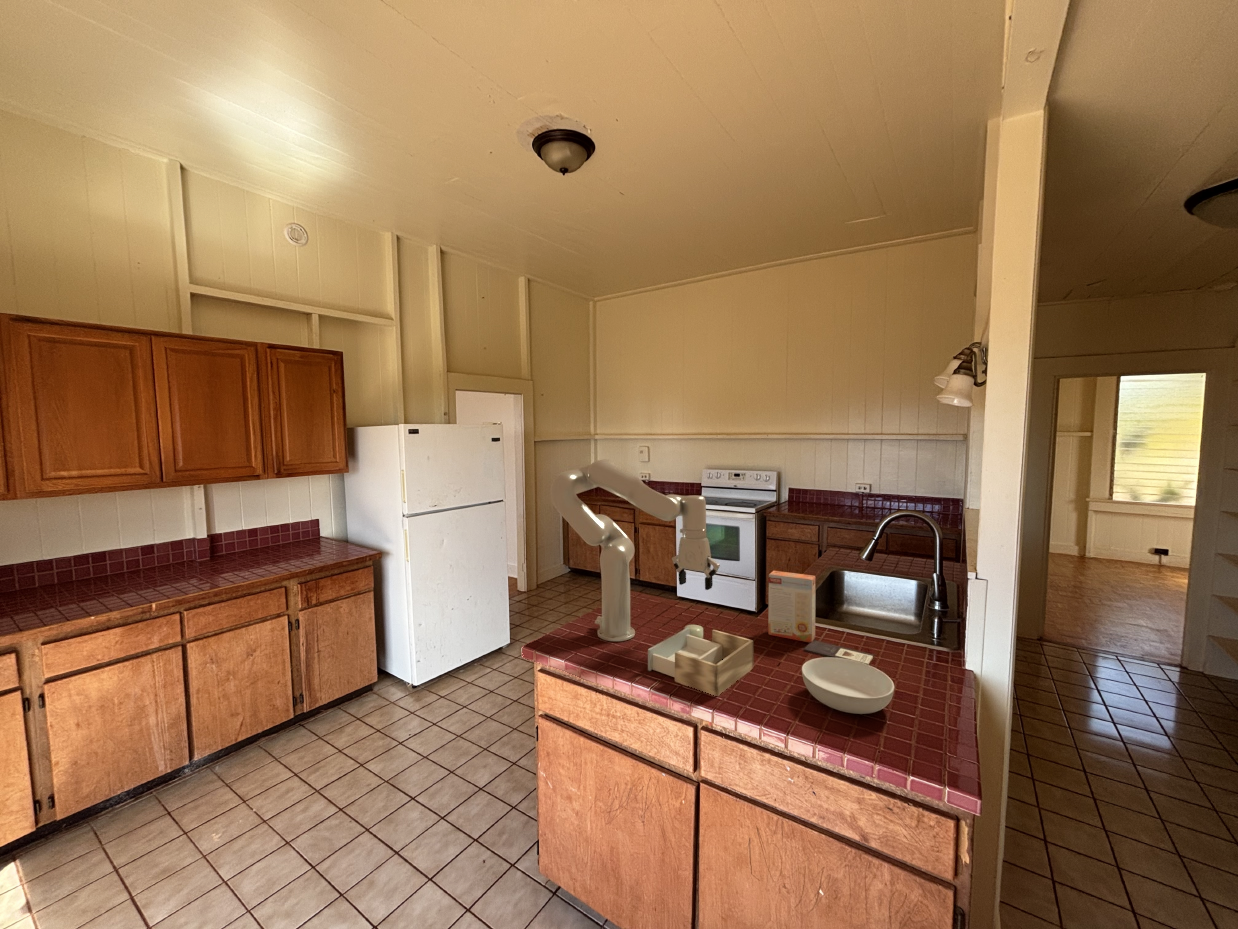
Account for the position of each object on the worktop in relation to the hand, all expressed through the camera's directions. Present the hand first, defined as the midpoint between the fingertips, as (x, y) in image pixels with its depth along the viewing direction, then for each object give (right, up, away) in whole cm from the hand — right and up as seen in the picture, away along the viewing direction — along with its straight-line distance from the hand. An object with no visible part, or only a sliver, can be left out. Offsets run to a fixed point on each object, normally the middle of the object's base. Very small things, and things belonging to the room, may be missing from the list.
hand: (695, 586), depth 160 cm
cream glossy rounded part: (0, -18, +1) cm, 18 cm away
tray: (-5, -19, -16) cm, 25 cm away
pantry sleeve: (+2, -19, -22) cm, 29 cm away
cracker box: (+33, -18, +5) cm, 38 cm away
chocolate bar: (+42, -19, -9) cm, 47 cm away
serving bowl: (+32, -20, -37) cm, 53 cm away
